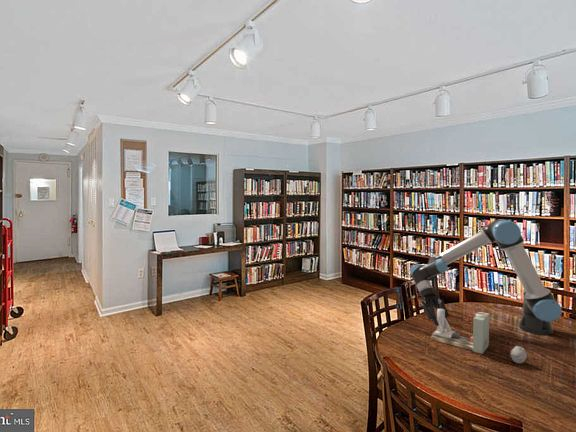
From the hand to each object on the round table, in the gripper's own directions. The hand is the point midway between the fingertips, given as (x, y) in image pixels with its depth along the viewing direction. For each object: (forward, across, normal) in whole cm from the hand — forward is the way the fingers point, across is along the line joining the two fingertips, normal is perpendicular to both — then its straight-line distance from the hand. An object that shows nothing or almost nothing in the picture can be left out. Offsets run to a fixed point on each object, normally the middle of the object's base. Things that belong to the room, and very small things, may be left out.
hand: (445, 331), depth 175 cm
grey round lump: (+23, -16, +16) cm, 32 cm away
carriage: (+1, -2, -3) cm, 4 cm away
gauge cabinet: (+12, -11, +4) cm, 17 cm away
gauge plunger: (+9, -9, +4) cm, 14 cm away
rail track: (+5, -4, -2) cm, 7 cm away
